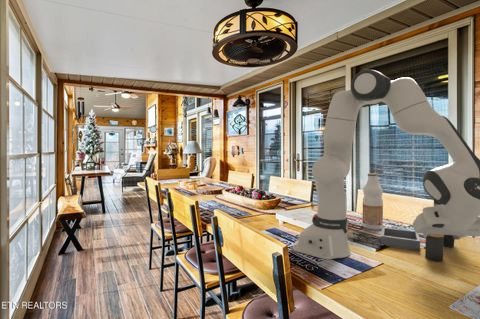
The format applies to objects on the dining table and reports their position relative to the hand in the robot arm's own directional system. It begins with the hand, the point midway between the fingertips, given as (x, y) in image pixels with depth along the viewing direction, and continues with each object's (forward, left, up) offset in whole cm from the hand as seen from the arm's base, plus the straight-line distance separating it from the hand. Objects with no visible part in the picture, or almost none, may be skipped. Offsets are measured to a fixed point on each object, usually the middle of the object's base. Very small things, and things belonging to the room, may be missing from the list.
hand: (440, 236), depth 98 cm
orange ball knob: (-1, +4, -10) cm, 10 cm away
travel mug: (+4, +23, -10) cm, 25 cm away
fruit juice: (-24, +36, -10) cm, 44 cm away
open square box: (-12, +17, -10) cm, 23 cm away
